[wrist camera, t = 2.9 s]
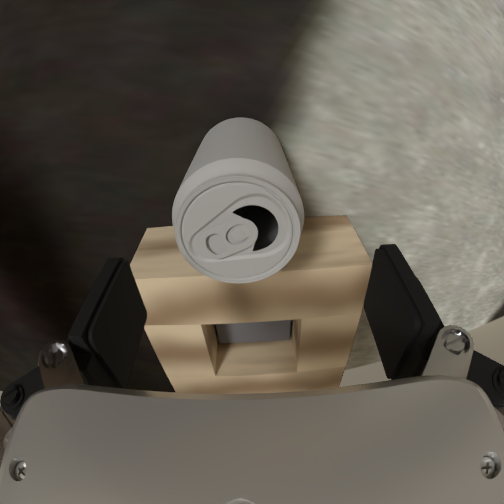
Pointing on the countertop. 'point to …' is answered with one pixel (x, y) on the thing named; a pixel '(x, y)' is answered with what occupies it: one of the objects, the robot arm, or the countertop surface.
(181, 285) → the holder block
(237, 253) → the beverage can
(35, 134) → the countertop surface
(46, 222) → the countertop surface
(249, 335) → the sprung base
